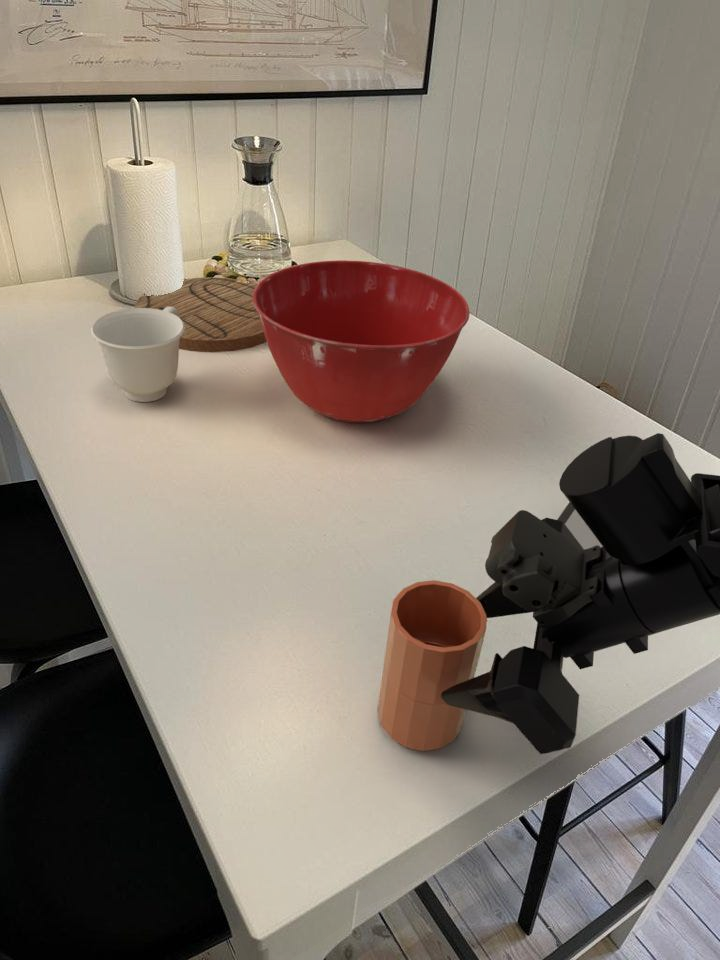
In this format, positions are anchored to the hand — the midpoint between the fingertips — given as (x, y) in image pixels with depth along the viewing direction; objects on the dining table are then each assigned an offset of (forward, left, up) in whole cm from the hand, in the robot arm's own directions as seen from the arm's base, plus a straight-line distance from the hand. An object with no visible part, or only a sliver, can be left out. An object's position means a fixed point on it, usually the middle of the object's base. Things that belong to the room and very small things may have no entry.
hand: (456, 653), depth 60 cm
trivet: (+69, -48, -9) cm, 85 cm away
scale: (-5, -31, -9) cm, 33 cm away
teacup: (+60, -25, -9) cm, 66 cm away
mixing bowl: (+36, -41, -9) cm, 56 cm away
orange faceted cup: (+2, +1, -9) cm, 9 cm away
